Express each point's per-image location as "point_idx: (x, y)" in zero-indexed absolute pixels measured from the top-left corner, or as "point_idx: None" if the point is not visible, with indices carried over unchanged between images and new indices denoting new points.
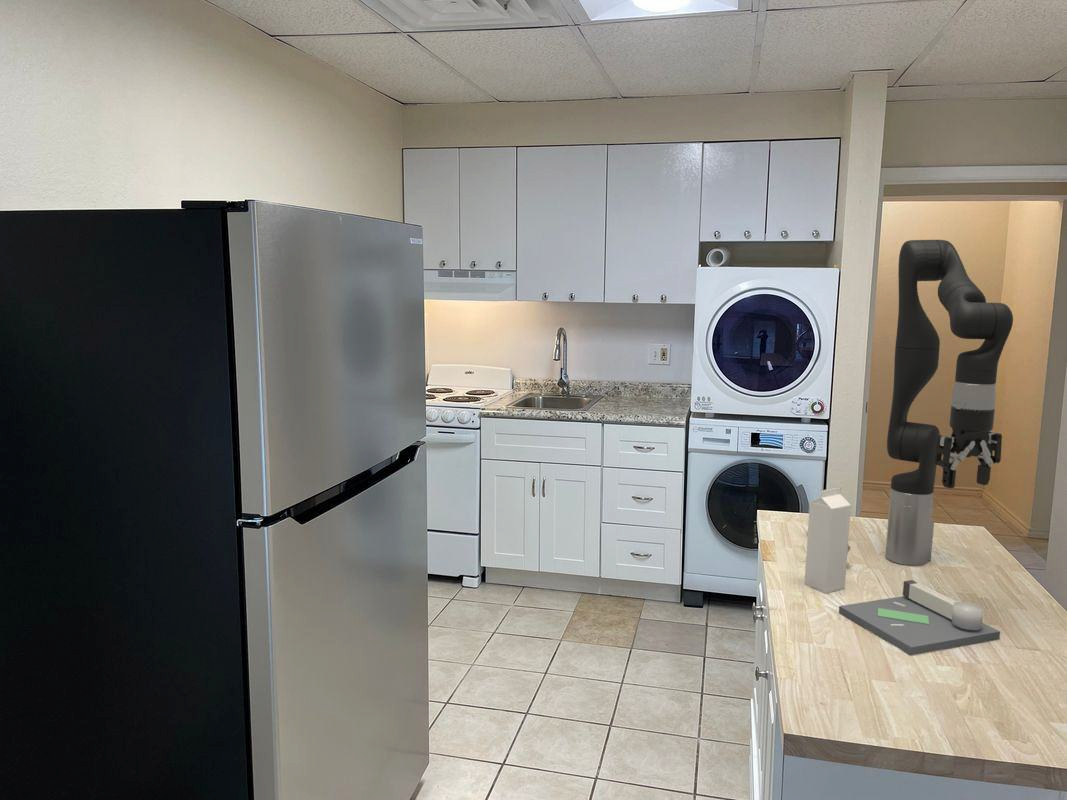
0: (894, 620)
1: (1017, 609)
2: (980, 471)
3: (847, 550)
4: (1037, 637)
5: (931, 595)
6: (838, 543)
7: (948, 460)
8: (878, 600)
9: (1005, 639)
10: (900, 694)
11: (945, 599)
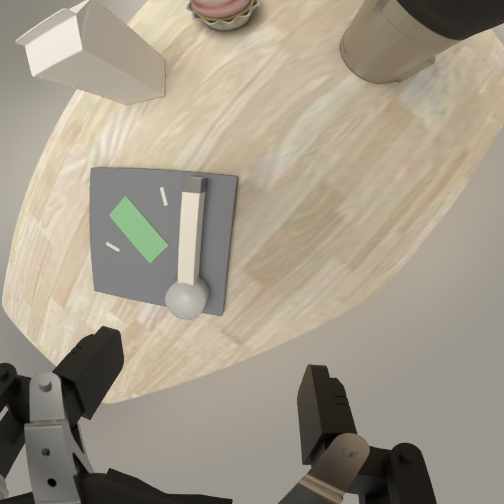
0: (120, 233)
1: (341, 266)
2: (310, 419)
3: (228, 23)
4: (273, 327)
5: (179, 239)
6: (103, 82)
7: (24, 434)
8: (148, 170)
9: (230, 314)
10: (59, 321)
11: (183, 263)
